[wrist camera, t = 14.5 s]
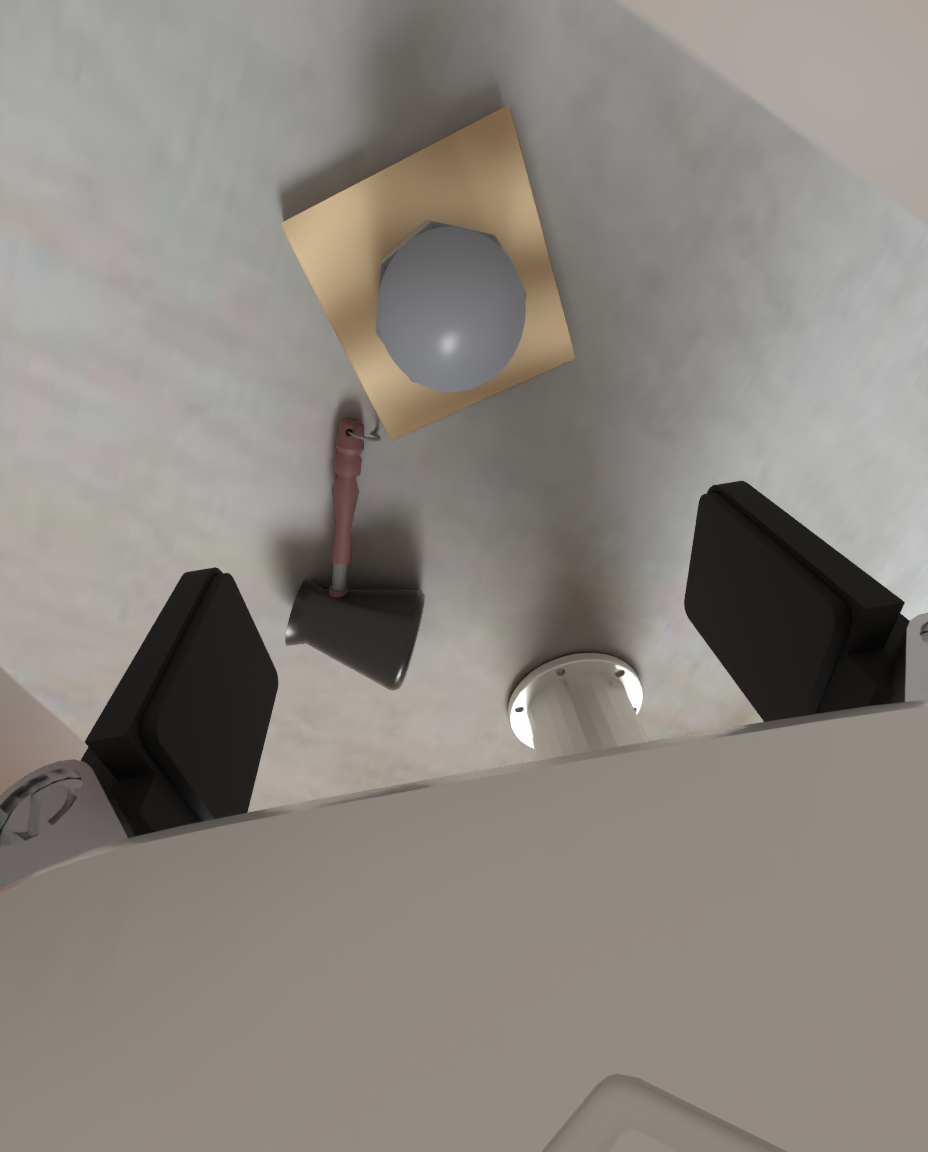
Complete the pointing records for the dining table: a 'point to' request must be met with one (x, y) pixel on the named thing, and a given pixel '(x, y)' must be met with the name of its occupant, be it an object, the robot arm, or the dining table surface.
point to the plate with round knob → (389, 214)
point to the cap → (450, 307)
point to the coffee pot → (356, 592)
